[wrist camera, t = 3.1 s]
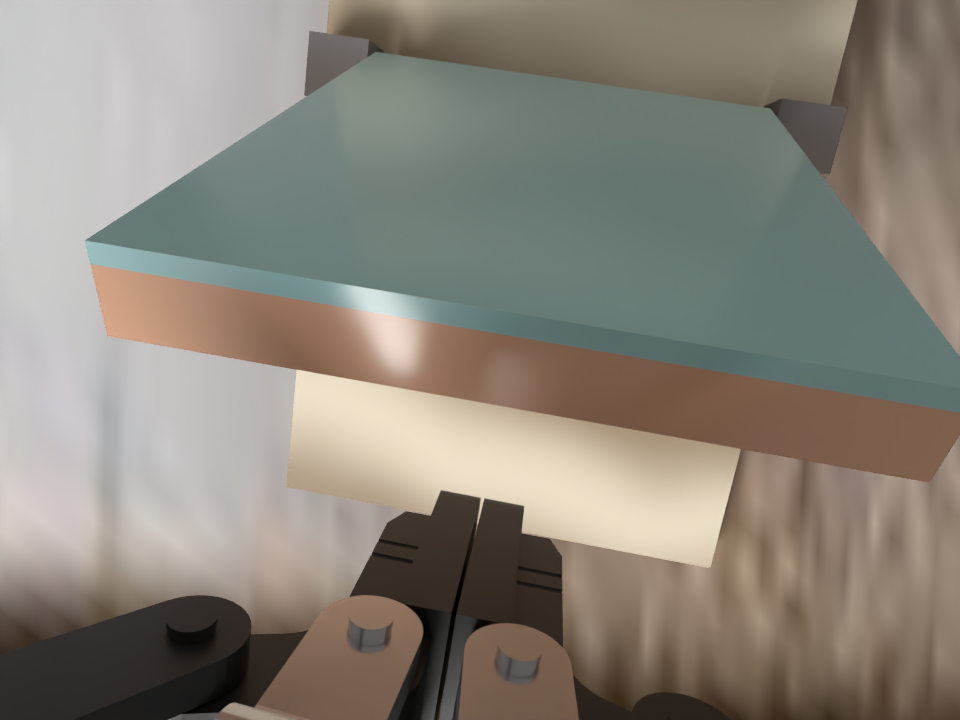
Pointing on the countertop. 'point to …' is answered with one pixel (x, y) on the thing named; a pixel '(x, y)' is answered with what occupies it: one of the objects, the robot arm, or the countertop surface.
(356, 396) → the board
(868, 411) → the tile
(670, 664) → the countertop surface
